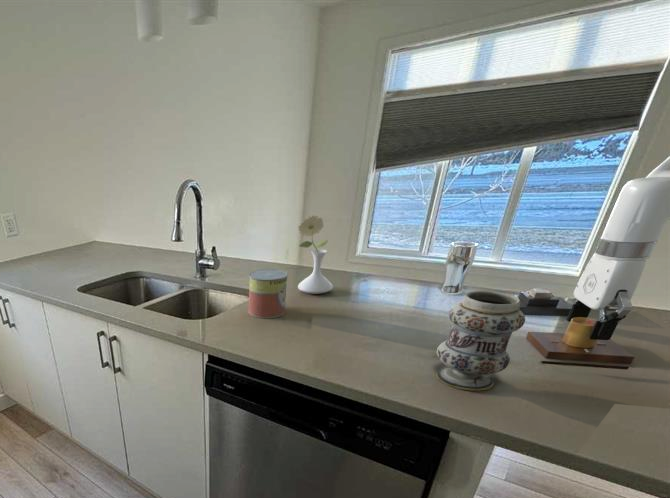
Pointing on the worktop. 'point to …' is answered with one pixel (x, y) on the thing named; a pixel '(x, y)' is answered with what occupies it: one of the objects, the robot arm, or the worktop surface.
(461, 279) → the beer glass
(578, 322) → the dial
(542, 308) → the piano block
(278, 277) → the canned food
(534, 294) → the key
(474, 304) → the apothecary jar
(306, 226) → the flower in vase
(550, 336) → the volume panel
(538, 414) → the worktop surface
